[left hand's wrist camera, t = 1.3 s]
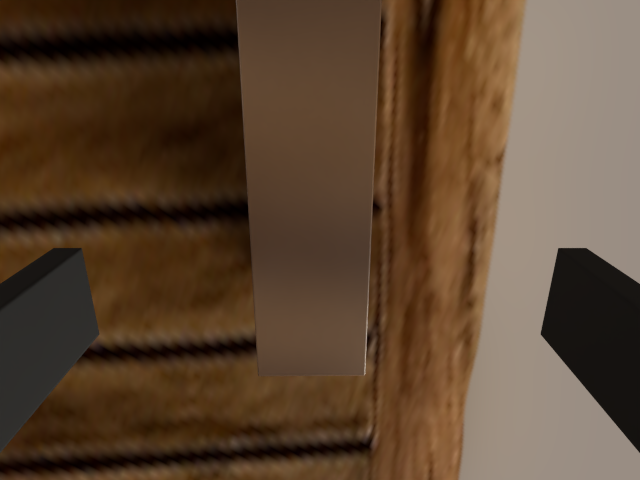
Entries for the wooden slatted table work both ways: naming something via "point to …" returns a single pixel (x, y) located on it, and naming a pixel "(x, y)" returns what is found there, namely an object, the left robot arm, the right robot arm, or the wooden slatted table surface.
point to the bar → (310, 178)
